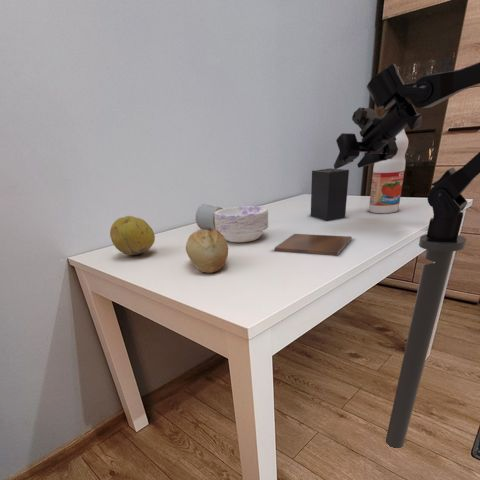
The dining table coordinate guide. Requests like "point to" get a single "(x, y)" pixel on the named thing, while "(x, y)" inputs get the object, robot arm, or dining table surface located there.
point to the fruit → (132, 235)
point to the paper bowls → (241, 222)
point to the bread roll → (207, 250)
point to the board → (314, 244)
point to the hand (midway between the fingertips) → (346, 166)
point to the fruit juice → (389, 179)
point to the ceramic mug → (206, 216)
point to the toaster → (329, 193)
